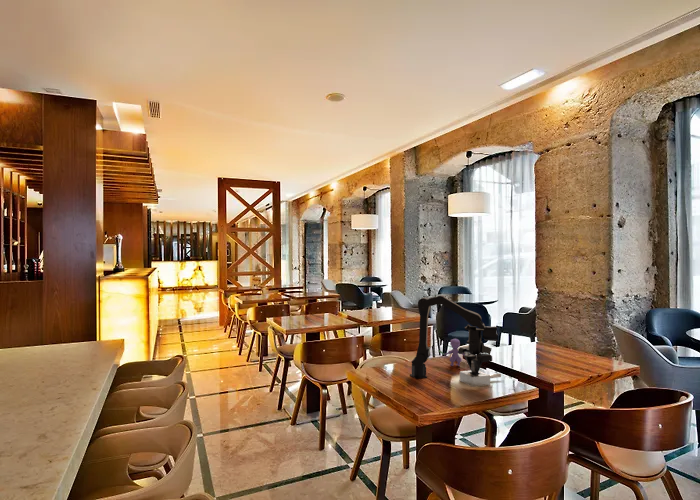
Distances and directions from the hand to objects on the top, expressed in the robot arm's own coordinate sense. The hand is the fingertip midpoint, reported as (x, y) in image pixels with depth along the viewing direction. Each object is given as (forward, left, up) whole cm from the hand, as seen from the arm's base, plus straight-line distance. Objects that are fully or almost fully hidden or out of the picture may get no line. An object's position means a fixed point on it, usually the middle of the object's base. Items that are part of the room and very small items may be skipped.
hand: (474, 372), depth 192 cm
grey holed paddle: (+5, 0, -5) cm, 7 cm away
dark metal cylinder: (0, 0, -2) cm, 2 cm away
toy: (+9, +29, -5) cm, 31 cm away
